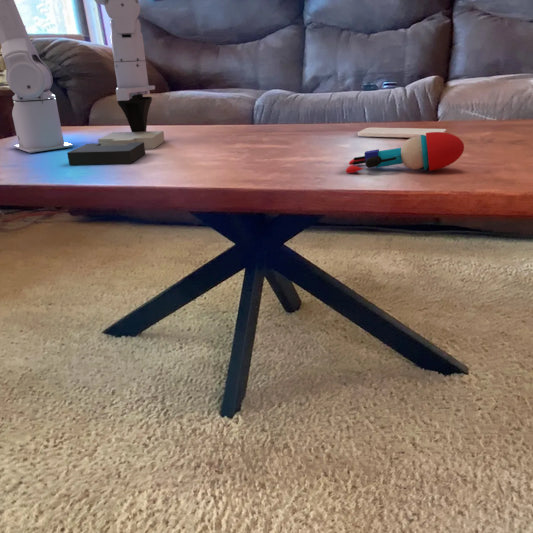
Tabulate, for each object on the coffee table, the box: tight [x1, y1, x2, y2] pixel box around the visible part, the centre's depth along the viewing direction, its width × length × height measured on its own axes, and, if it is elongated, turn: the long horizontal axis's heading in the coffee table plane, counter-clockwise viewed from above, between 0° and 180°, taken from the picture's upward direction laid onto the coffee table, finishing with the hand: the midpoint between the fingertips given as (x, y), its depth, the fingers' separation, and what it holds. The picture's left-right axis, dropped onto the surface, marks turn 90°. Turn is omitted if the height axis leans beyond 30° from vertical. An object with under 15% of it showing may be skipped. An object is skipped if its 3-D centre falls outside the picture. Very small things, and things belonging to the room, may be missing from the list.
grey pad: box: [97, 130, 165, 150], centre depth 94 cm, size 10×10×2 cm
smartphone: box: [357, 127, 447, 138], centre depth 95 cm, size 7×1×15 cm
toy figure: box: [345, 132, 465, 174], centre depth 68 cm, size 8×5×15 cm
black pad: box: [66, 142, 146, 166], centre depth 83 cm, size 8×10×2 cm
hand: (139, 136), depth 100 cm, fingers closed
